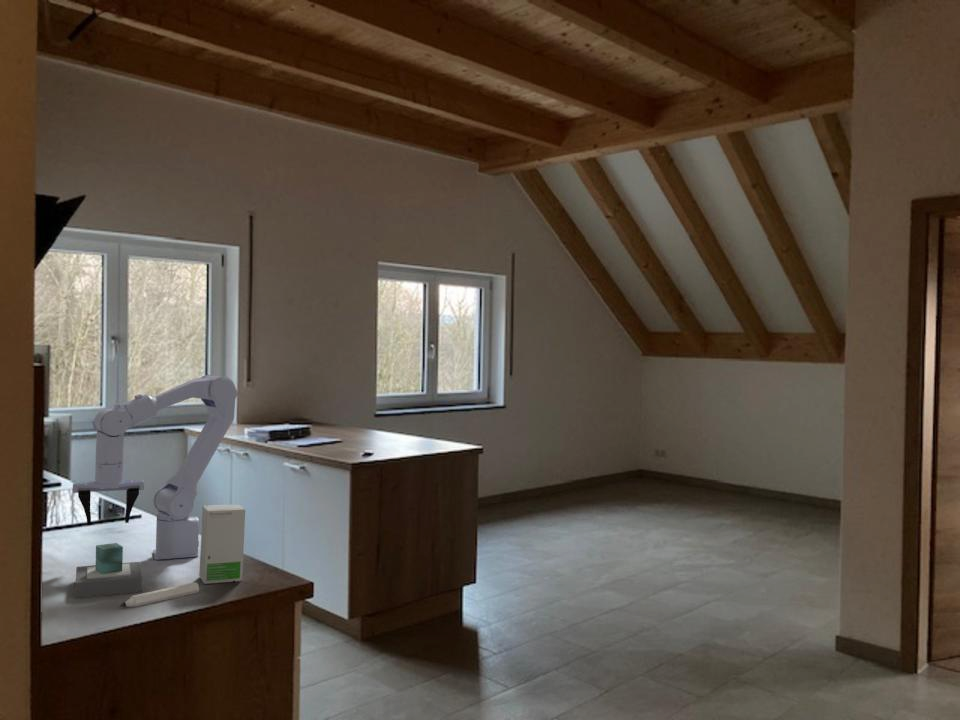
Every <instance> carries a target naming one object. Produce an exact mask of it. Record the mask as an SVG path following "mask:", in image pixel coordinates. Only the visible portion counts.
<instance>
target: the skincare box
mask: <svg viewBox="0 0 960 720" xmlns="http://www.w3.org/2000/svg"><path fill="white" fill-rule="evenodd" d="M201 508H202V511H201V512H202V513H201V514H202V517H201V534H200V537H201V538H200V554H199V555H200V557H199V558H200V559H199V571H198V572H199V574H198V576H199V578H200V580H201V581H202V583H203V584H204V585H208V584H218V583H219V584H220V583H221V584H223V583H231V582H232V583H233V581H235V582H242V581H243V567H244V565H243V564H244V547H245V546H244V545H245V528H246V525H245V523H246V522H245V521H246V508H244V507H243V506H242V505H241V504H213V505H212V504H209V505H207V504H206V505H205V504H204V505H202V507H201Z"/></svg>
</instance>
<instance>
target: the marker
mask: <svg viewBox="0 0 960 720" xmlns="http://www.w3.org/2000/svg"><path fill="white" fill-rule="evenodd" d="M199 592H200V587H199V584H198V582H196V581H194V582H190V583H186V584H181V585H176V586H171V587H166V588H162V589H157V590H153V591H148V592H143V593H142V592H141V593H138V594H135V595H131V596H130V598H129V599H127V600H126V601H124V602H122V603H121V604H119V605H118V607H127V608H132V607H134V608H135V607H140V606H144V605H148V604H154V603H157V602H162V600H163V601H166V600H172V599H175V598H181V597H184V595H185V596H188V595H193V594H197V593H199Z"/></svg>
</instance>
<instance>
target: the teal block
mask: <svg viewBox="0 0 960 720" xmlns="http://www.w3.org/2000/svg"><path fill="white" fill-rule="evenodd" d="M123 550H124V548H123V546H122V545H120V544H119V543H118V542H114V543H113V542H112V543H106V544H98V545H96V546H95V565H96V569H95V570H97V571H98V572H99V573H100V574H107V573H113V572H120V571H122V563H123V560H124V559H123V556H124V555H123V552H124V551H123Z"/></svg>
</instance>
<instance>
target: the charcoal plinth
mask: <svg viewBox="0 0 960 720" xmlns="http://www.w3.org/2000/svg"><path fill="white" fill-rule="evenodd" d="M95 569H96V564H93V565H83V566H82V565H81V566H76V570H75V581H74V583H75V585H74V586H75V587H74V588H75V591H74V594H75V595H74V599H80V598H92V597H94V598H95V597H103V596H104V597H105V596H112V595H113V594H115V595H121V594H120V593H125V594H133V592H135V593H142V590H143V575H142V570H141V567H140V562H139V561H135V562H134V561H132V562H130V561H129V562H122V571H120V572H113V573H107V574H100V573H99V572H98V571H97V570H95Z"/></svg>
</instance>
